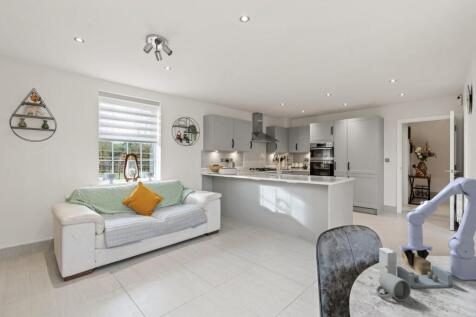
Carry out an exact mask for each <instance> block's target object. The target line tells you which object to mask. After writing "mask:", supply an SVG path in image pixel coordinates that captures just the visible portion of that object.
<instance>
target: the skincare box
mask: <svg viewBox="0 0 476 317" xmlns="http://www.w3.org/2000/svg"><path fill="white" fill-rule="evenodd" d="M378 251H379V252H378V253H379V254H378V273H379V275H380V276H381V275H382V274H384V273H390V274H393V275H395V276H397V259H398V258H397V256H398V254H397V252H396V251H394V250H392V249H390V248H389V247H379V249H378Z"/></svg>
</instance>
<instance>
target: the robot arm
mask: <svg viewBox="0 0 476 317" xmlns="http://www.w3.org/2000/svg"><path fill="white" fill-rule="evenodd" d="M454 195H464V196H465V198H467V203H466V206H465V209H464V211H463V215H462V217H461V220H460V223H459V225H458V229H457V231H456V232H455V233H454V234H453V235H452V237H451V238H450V239H449V240H448V241H447V246H448V247H449V248H450V249H451V250H450V251H449V261H450V263H449V264H450V269H445V270H444V271H445V272H447V273H449V274H451V275H452V277H453V276H454V277H456V278H457V279H459V280H461V281H466V280H467V281H468V280H470V281H471V280H476V256H475V254H476V251H475V245H476V243H475V240H474V237H475V234H476V178H475V179H474V178H468V177H464V176H460V177H456V178H455V179H454V180H453V181H451V182H449V183H448V184H447V185H446V186H444V188H443V189H441V190H440V191H439V192H438V193H437V194H436V195H435V196H434V197H433V198H432V199H431V200H424V201H420V205H418V206H417V207H416V208H412V211H409V212H407V214H406V216H405V219H406V220H407V244H404V245H399V246H398V250H399V251H401V252H402V251H403V252H404V253H405V255H406V257H407V260H408V263H409V265H411V266H414V256H415V254H416V255H418V256H420V257H422V258H424V259H426V260H427V257H428V256H429V255H430V252H432V251H433V246H432V245H430V244H429V245H428V244H427V245H426V244H424V237H423V236H424V235H423V234H424V232H423V231H424V230H423V224H425V220H427V218H429V217H430V216H432V215H434V213H435V212H437V211H438V206H439V205H441V204H442V203H444V202H445V201H446V200H448V199H449V198H451V197H453V196H454ZM413 251H416V253H414V252H413ZM429 251H430V252H429Z"/></svg>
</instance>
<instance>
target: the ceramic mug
mask: <svg viewBox="0 0 476 317" xmlns="http://www.w3.org/2000/svg"><path fill="white" fill-rule="evenodd" d="M378 282H379V283H378V284H379V285H378V286H377V287H376V289H375V291H376V294H377V296H378V297H379V298H381V299H383V300H388V299H391V298H394V299H395V300H397V301H399V302H405V301H407V300H408V298H410V297H411V296H410V295H411V292H412V290H411V289H412V288H410V285H409V283H408V282H407V281H405V280H403V279H401V278H399V277H397V275H396V276H395V275H393V274H390V273H384V274H382V275H380V277H379V280H378ZM381 290H383V291H384V292H386V293H387V294H380V291H381Z"/></svg>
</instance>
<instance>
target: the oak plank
mask: <svg viewBox="0 0 476 317" xmlns="http://www.w3.org/2000/svg"><path fill="white" fill-rule="evenodd" d="M401 252H402V256H401V257H402V258H401V259H402V264H404V265H406V266H407V267H408V268H410V269H412V270H413V271H415V272H416V273H418V275H428V272H432V264H431V263H432V261H430V260H427V258H426V259H424V258H422V257H420V256H418V255H417V253H415V256H414V266H411V265H409V263H408V260H407V257H406V255H405V253H404V252H403V251H401Z"/></svg>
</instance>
